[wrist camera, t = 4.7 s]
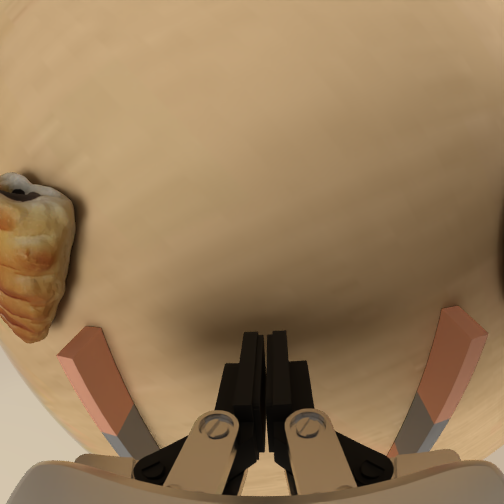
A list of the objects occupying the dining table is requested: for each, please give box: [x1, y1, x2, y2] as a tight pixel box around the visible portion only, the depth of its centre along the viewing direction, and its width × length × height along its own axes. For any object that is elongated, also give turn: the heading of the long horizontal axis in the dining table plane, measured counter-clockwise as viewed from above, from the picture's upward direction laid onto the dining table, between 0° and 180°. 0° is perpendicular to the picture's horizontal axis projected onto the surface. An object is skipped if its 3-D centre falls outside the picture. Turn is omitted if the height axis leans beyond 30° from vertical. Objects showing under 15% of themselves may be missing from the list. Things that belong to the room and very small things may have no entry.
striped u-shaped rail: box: [56, 306, 488, 460], centre depth 15 cm, size 20×30×3 cm
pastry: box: [0, 172, 75, 343], centre depth 10 cm, size 9×7×4 cm
